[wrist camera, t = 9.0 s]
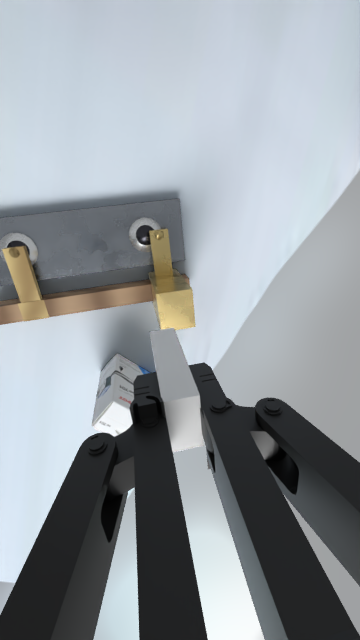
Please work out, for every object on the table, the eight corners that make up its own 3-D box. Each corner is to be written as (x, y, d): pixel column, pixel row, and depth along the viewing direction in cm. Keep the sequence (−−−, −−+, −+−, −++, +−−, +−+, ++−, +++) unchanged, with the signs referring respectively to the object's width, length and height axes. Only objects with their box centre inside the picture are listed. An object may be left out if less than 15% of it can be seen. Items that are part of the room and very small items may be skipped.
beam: (5, 317, 38) (-4, 325, 36) (-21, 249, 35) (-33, 253, 32) (186, 289, 42) (190, 295, 39) (180, 225, 38) (184, 226, 35)
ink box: (158, 376, 47) (168, 427, 36) (140, 397, 48) (145, 452, 37) (116, 351, 43) (113, 399, 33) (98, 374, 44) (89, 427, 34)
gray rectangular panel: (-8, 285, 36) (-13, 287, 35) (-33, 221, 33) (-39, 222, 32) (183, 258, 40) (185, 260, 38) (177, 198, 37) (179, 198, 35)
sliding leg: (152, 302, 41) (161, 332, 31) (141, 230, 37) (148, 238, 27) (178, 298, 41) (195, 326, 32) (171, 226, 37) (187, 233, 28)
